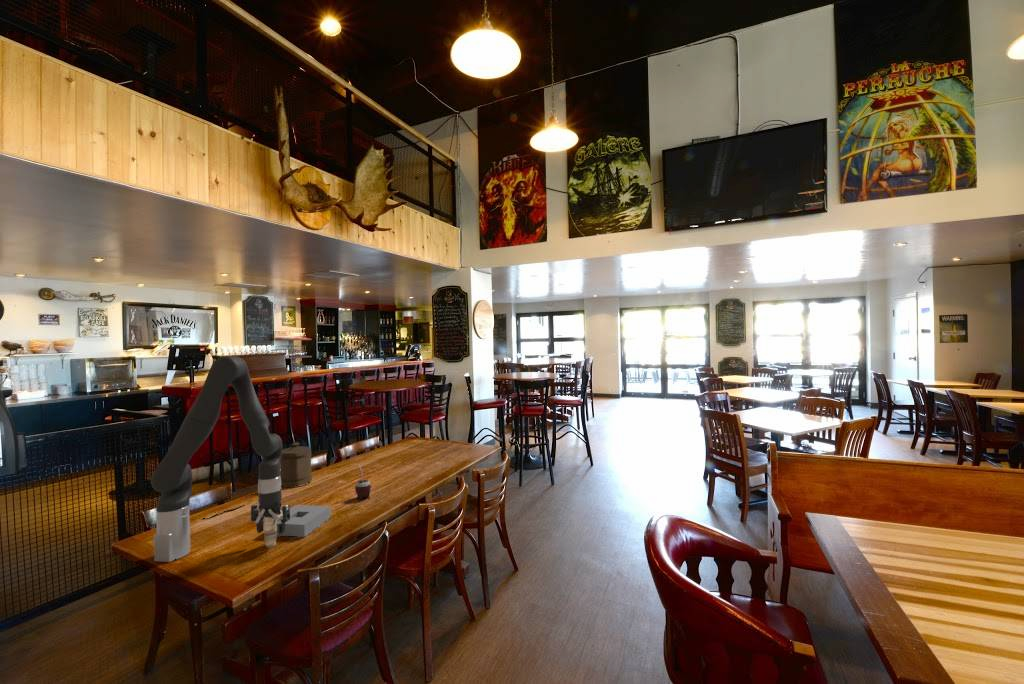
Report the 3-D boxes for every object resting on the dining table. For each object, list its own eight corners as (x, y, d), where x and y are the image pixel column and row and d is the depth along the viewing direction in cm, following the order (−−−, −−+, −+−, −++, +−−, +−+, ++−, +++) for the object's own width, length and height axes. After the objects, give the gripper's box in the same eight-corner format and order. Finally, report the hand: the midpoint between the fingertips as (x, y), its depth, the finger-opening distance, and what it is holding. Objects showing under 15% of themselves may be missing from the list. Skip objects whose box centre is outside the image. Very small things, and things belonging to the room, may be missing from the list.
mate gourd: (366, 501, 198) (365, 469, 198) (350, 500, 199) (350, 469, 199) (374, 495, 205) (373, 464, 205) (359, 494, 207) (358, 464, 207)
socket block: (304, 537, 162) (304, 524, 162) (266, 535, 164) (266, 523, 164) (330, 517, 180) (330, 506, 180) (295, 516, 182) (295, 505, 182)
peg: (272, 548, 154) (271, 518, 154) (261, 548, 154) (260, 518, 154) (279, 543, 158) (279, 513, 158) (269, 542, 159) (268, 513, 158)
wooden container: (296, 477, 234) (295, 438, 234) (317, 480, 230) (317, 440, 229) (273, 486, 220) (273, 444, 220) (296, 489, 215) (295, 446, 215)
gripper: (244, 492, 153) (245, 536, 153) (280, 493, 151) (281, 538, 152) (259, 485, 161) (260, 527, 161) (294, 485, 159) (295, 528, 159)
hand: (271, 532), depth 156 cm, fingers open, 8 cm apart
